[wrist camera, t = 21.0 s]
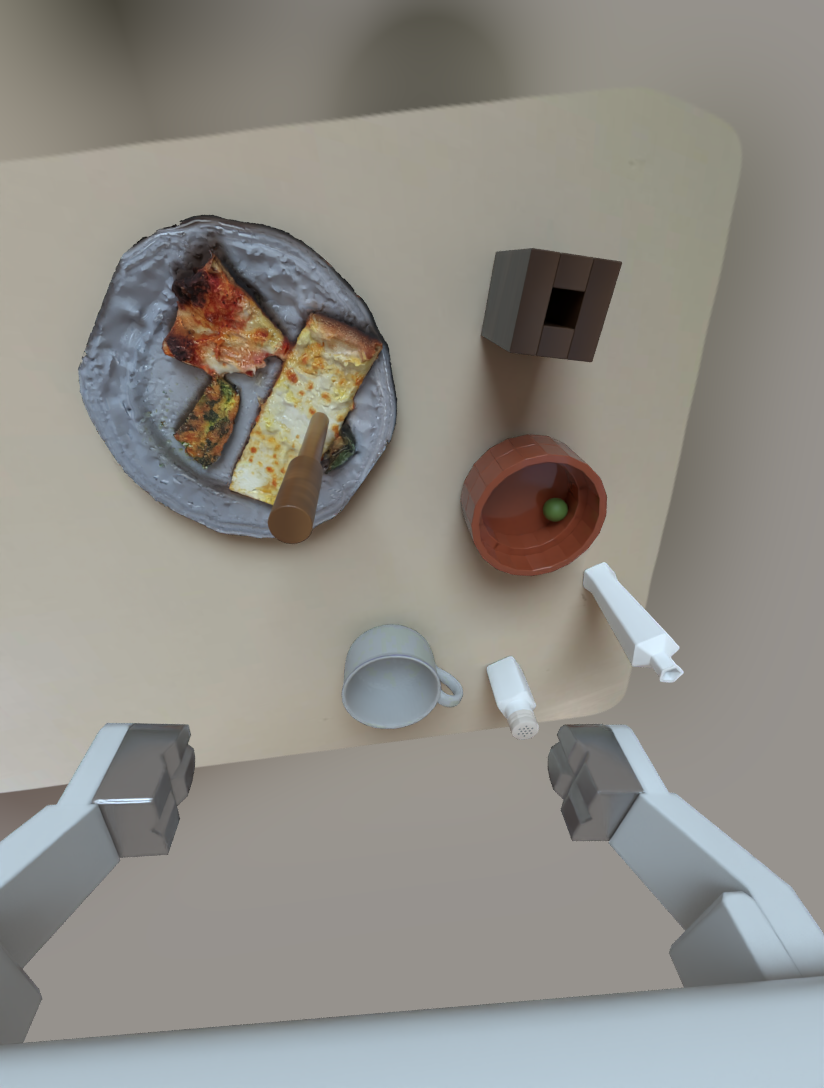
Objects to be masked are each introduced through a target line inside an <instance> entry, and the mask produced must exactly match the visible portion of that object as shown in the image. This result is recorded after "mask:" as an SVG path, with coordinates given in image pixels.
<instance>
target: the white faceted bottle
mask: <svg viewBox="0 0 824 1088" xmlns="http://www.w3.org/2000/svg"><path fill="white" fill-rule="evenodd" d="M583 587H584V588H585V589H587V590H588V591H590V592H591V593H592V594H593V596H594V598H595V600H596V602H597V603H598V605H599V607H600V609H601V611H602V612H603V614H604V616H605V618H606V620H607V621H608V623H609V625H610V627H611V629H612V630H613V632H614V634H615V636H616V638H617V639H618V641H619V643H620V645H621V647H622V649H623V650H624V652H625V654H626V656H627V658H628V659H629V661H630V663H631V665H632V666H633V667H646V668H653V669H654V671H655V672H656V673H657V675H658V676H659V679H660V682H674V681H675V680H677V679H678V678H679V677H680V676H681V675H682V674H683V673H684V672H683V670H682V669H681V668H680V667H679V666H678V665H676V664H675V662H674V661H673V660H672V659H671V656H672V655H673V654H675V652H677V651H678V650H679V648H680V647H679V646H678V645H677V644H676V643H675V642H674V640H673V639H672V638H671V637H670V636H669V635H668V633H666V632H665V630H664V629H662V627H661V626H660V625H659V624H658V623H657V622H656V621H655V620H654V619H653V618H652V617H651V616H650V614H649V613H648V612H647V611H646V610H645V609H644V608H643V607H642V606H641V605H640V604H639V603H638V602H637V601H636V600H635V598H634V597H633V596H632V595H631V594H630V593H629V592H628V591H627V590H626V589H625V588H624V587H623V586H622V585H621V584H620V583H619V582H618V580H617V577H616V575H615V572H614V571H613V570H612V569H611V568H610V567H609V566H608V564H607V563H606V562H603V563H601V564H598V565H596V566H593V567H591V568H589V569H586V570H585V571H584V579H583Z"/></svg>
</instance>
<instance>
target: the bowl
mask: <svg viewBox="0 0 824 1088" xmlns="http://www.w3.org/2000/svg"><path fill="white" fill-rule="evenodd" d="M551 498H560V499H562V500H564V501H565V503H566V504H567V507H568V512H567V515H566V516H565V518H564V519H562V520H560V521H557V522H553V521H550V520H548V519H547V518H546V517H545V516H544V514H543V506H544V504H545V503H546V501H548V500H549V499H551ZM461 505H462V511H463V517H464V519H465V522H466V524H467V527H468V529H469V532H470V534H471V537H472V540H473V542H474V544H475V546H476V548H477V550H478V551H479V553H480V555H481V556H482V558H483V559H484V560H485V561H487V562H488V563H489V564H490V565H492V566H493V567H494V568H495V569H497V570H500V571H503V572H506V573H509V574H511V575H522V576H535V575H540V574H545V573H549V572H553V571H555V570H557V569H559V568H561V567H563V566H566V565H568V564H570V562H573V561H574V560H575V559H576V558H578V557H579V556H580V555H581V554H582V553H584V552H585V551H586V549H588V548H589V547H590V545H591V544H592V543H593V541H594V540H595V539H596V537H597V536H598V534H599V533H600V530H601V528H602V525H603V523H604V520H605V517H606V508H607V495H606V492H605V489H604V486H603V483H602V481H601V479H600V477H599V476H598V475H597V474H596V473H595V472H594V471H593V469H592V468H591V467H590V466H589V465H588V464H587V463H586V462H584V461H583V460H582V459H581V458H580V457H579V456H578V455H577V454H576V453H574V452H573V451H572V450H571V449H570V448H569V447H568V446H567V445H565V444H564V443H562V442H560V441H557V440H555V439H553V438H551V437H549V436H541V435H531V434H527V435H522V436H518V437H513V438H509V439H506V440H504V441H503V442H501V443H499V444H497V445H495V446H493V447H492V448H490V449H489V450H488V451H487V452H486V453H485V454H484V455H483V456H481V457H480V458H479V459H478V460H477V461H476V462H475V464H474V465H473V467H472V468H471V470H470V472H469V474H468V476H467V477H466V479H465V482H464V485H463V490H462V495H461Z"/></svg>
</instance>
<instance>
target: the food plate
mask: <svg viewBox="0 0 824 1088" xmlns="http://www.w3.org/2000/svg"><path fill="white" fill-rule="evenodd" d="M181 222H182V223H181ZM115 270H116V271H115V272H114V274H113V277H112V280H111V282H110V284H109V287H108V290H107V293H106V295H105V297H104V300H103V304H102V306H101V309H100V311H99V313H98V316H97V318H96V321H95V326H94V327H93V330H92V333H90V337H89V339H88V343H87V346H86V349H85V351H84V352H86V354H87V355H86V356H85V357H82V360H83V363H80V364H81V365H80V366H79V368H78V371H79V384H80V393H81V395H82V399H83V403H84V405H85V407H86V410H87V412H88V414H89V416H90V419H91V420H92V422H93V424H94V425H95V427H96V430H97V432H98V433H99V435H100V437H101V438H102V439H103V440H104V442H105V444H106V445H107V447H108V448H109V450H110V451H111V453H112V454H113V456H114V457H115V459H116V460H117V462H118V463H119V465H121V466H122V467H123V470H124V472H125V473H127V474H128V476H129V477H131V478H132V479H133V480H134V482H135V483H137V484H138V485H139V486H140V487H141V488H143V490H145V491H146V492H148V493H149V494H150V495H151V496H152V497H153V498H154V499H155V501H157V500H158V501H159V502H162V503H163V504H164V505H165V506H168V507H169V508H170V509H171V510H174V512H177V513H179V514H181V515H184V516H186V517H187V518H190V519H192V520H195V521H196V522H199V523H200V524H203V525H205V526H207V528H209V527H210V529H213V530H215V531H216V532H219V533H223V534H231V535H240V536H242V535H243V536H247V535H248V536H251V537H256V538H265V537H267V538H268V537H269V538H274V536H273V535H272V534H271V532H270V530H269V528H268V517H269V515H270V512H271V509H272V507H273V504H274V502H275V499H276V496H277V494H278V491H279V488H280V486H281V483H282V481H283V478H284V475H285V473H286V470H287V467H288V465H289V463H290V461H291V460H292V459H294V458H295V457H297V456H298V454H299V451H300V448H301V446H302V443H303V440H304V437H305V434H306V431H307V428H308V426H309V423H310V420H311V417H312V415H313V414H314V413H316V412H322V413H325V414H326V415H327V416H328V418H329V426H328V430H327V435H326V439H325V443H324V448H323V452H322V457H321V461H320V464H321V466H322V468H323V478H322V484H321V489H320V494H319V499H318V504H317V509H316V514H315V519H314V524H313V528H315V527H316V526H317V525H319V524H321V523H323V522H325V521H327V520H330V519H332V518H333V517H335V516H336V514H338V512H339V511H340V510H341V509H342V508H343V509H344V507H345V506H346V505H347V503H348V502H349V501H348V500H350V499H351V498H350V497H352V496H353V495H354V494H353V493H355V492H356V491H357V489H358V488H359V486H360V485H361V483H362V482H363V481H364V479H365V477H366V476H367V475H368V473H369V472H370V470H371V469H372V468H373V466H374V465H375V464H374V463H376V462H377V461H376V460H378V459H379V457H380V456H381V454H382V453H383V452H382V451H384V450H385V447H386V446H385V445H387V443H386V442H390V441H391V437H392V434H393V431H394V426H395V424H396V416H397V398H396V391H395V385H394V381H393V375H392V370H391V369H392V368H391V362H390V354H389V353H390V352H389V348H388V344H387V343H386V342H385V340H384V338H383V336H382V335H381V334H380V333H379V332H380V331H379V330H378V329H377V328H378V327H377V325H376V323H375V320H374V317H373V315H372V313H371V312H370V310H369V308H368V306H367V304H366V303H365V302H364V300H363V299H362V298H361V297H360V296H358V295H357V294H356V293H355V292H354V289H353V288H352V287H351V285H350V284H349V283H348V282H347V281H346V280H345V279H343V278H342V277H341V275H340V274H339V273H337V272H336V271H335V269H334V268H333V267H332V266H331V265H330V264H329V263H328V262H327V261H326V260H325V259H324V258H323V257H322V256H320V255H319V254H318V253H316V252H315V251H314V250H313V249H312V248H310V247H309V246H307V245H306V244H305V243H304V242H302V241H301V240H298V239H297V238H294V237H293V236H292V235H290V234H289V233H288V232H287V233H285V231H282V230H279V229H276V228H271V227H270V226H266V225H264V224H256V223H254V224H253V223H249V222H247V223H246V222H240V221H236V220H228V219H224V218H221V217H218V216H214V215H201V216H193V217H190V218H188V219H185V220H183V221H182V220H181V221H180V226H179V225H178V226H177V225H176V224H175V226H174V225H173V226H171V227H166V228H163V229H159V230H157V232H156V233H154V234H153V235H152V236H150V237H142V239H141V240H140V241H138V242H137V244H134V245H133V247H132V248H130V249H129V250H128V251H127V252H126V253H124V254H123V256H122V257H121V259H120V261H119V263H118V266H117V268H116V269H115ZM388 444H389V443H388ZM347 501H348V502H347ZM345 504H346V505H345ZM344 505H345V506H344ZM165 506H164V507H165ZM341 507H342V508H341ZM343 509H342V510H343ZM342 510H341V511H342ZM335 518H336V517H335Z"/></svg>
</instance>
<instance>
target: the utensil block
mask: <svg viewBox="0 0 824 1088" xmlns="http://www.w3.org/2000/svg"><path fill="white" fill-rule="evenodd" d="M621 265H622V262H620V261H613V260H607V259H600V258H593V257H587V256H581V255H574V254H567V253H560V252H554V251H548V250H541V249H535V248H529V249H519V250H509V251H499V252H496V255H495V261H494V266H493V272H492V277H491V283H490V289H489V294H488V300H487V305H486V311H485V316H484V322H483V327H482V333H481V335H482V336H484V337H485V338H487V339H488V340H490V341H492V342H493V343H495V344H497V345H498V346H500V347H502V348H503V349H505V350H507V351H508V352H510V353H517V354H526V355H534V356H535V355H536V356H542V357H551V358H559V359H568V360H576V361H585V362H592V361H593V357H594V354H595V351H596V347H597V344H598V341H599V337H600V334H601V331H602V328H603V324H604V321H605V318H606V314H607V311H608V308H609V304H610V301H611V298H612V295H613V291H614V288H615V285H616V281H617V278H618V275H619V271H620V268H621Z"/></svg>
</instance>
